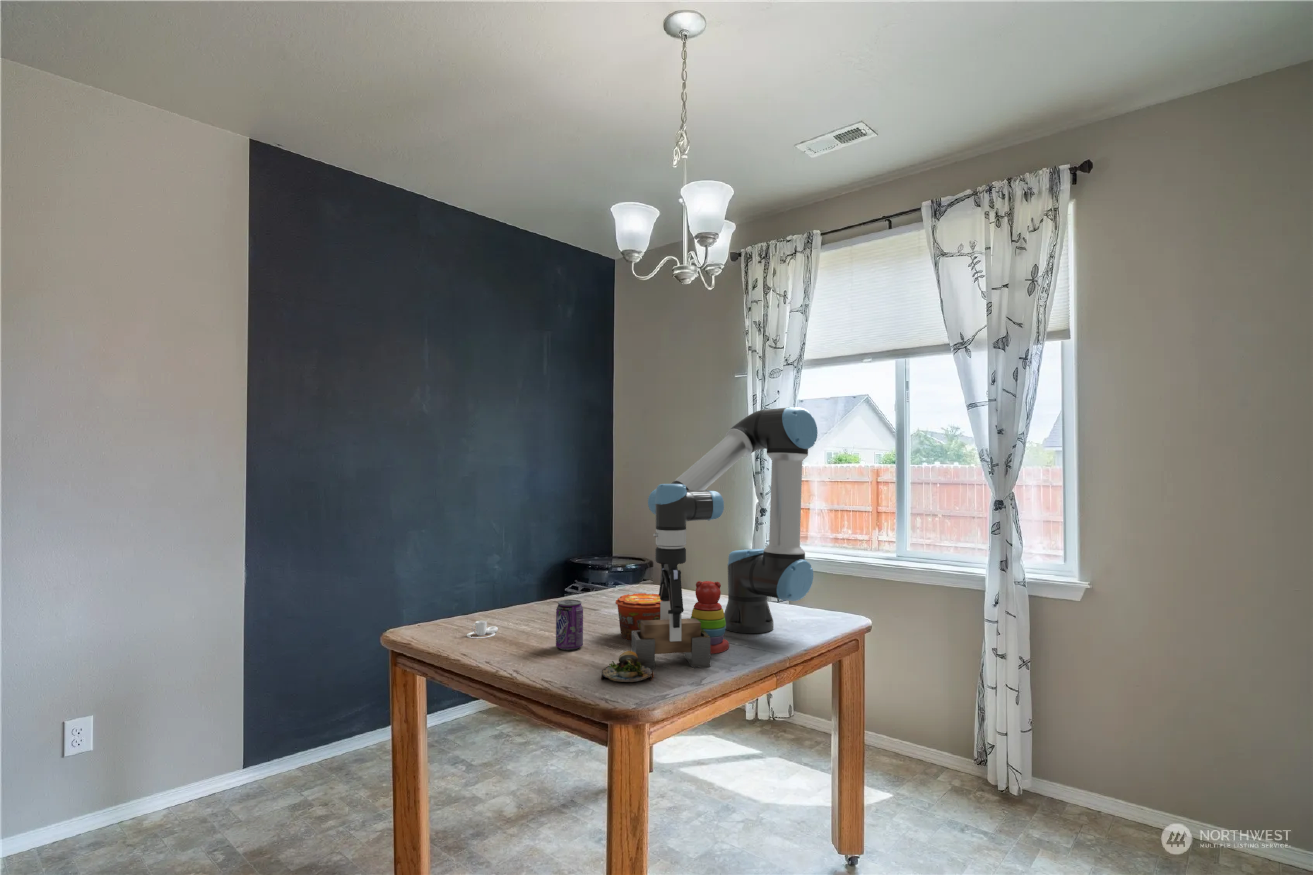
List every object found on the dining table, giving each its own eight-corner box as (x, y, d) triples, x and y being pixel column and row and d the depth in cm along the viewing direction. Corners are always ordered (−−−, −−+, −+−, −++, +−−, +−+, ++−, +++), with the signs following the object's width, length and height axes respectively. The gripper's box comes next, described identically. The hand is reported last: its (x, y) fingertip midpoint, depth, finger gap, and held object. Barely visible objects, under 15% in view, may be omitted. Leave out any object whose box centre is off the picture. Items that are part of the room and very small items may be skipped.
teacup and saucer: (496, 631, 200) (497, 617, 200) (499, 638, 193) (499, 623, 193) (465, 633, 198) (465, 619, 198) (467, 640, 190) (467, 625, 190)
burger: (591, 682, 154) (592, 649, 154) (615, 668, 165) (616, 637, 165) (640, 690, 149) (640, 655, 150) (662, 675, 160) (662, 642, 160)
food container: (623, 646, 184) (624, 605, 184) (609, 631, 199) (609, 594, 199) (680, 641, 189) (680, 601, 189) (661, 627, 204) (661, 591, 204)
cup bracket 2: (702, 656, 175) (702, 628, 175) (710, 666, 166) (710, 637, 166) (684, 656, 174) (684, 628, 174) (692, 667, 165) (692, 638, 165)
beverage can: (552, 645, 184) (553, 600, 184) (578, 643, 187) (578, 598, 187) (559, 652, 177) (560, 605, 178) (586, 649, 180) (586, 603, 180)
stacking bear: (729, 644, 186) (729, 578, 186) (727, 655, 176) (727, 585, 176) (689, 642, 187) (690, 576, 188) (685, 653, 177) (685, 583, 178)
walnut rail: (695, 646, 173) (695, 618, 173) (700, 651, 168) (700, 622, 168) (640, 649, 170) (640, 620, 170) (644, 654, 165) (644, 625, 165)
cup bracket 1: (636, 669, 163) (636, 639, 163) (631, 658, 172) (631, 630, 172) (654, 669, 164) (654, 639, 164) (649, 658, 173) (649, 630, 173)
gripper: (648, 540, 181) (648, 622, 181) (664, 553, 157) (663, 647, 156) (676, 540, 183) (676, 621, 182) (696, 553, 158) (696, 646, 157)
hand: (670, 633), depth 169 cm, fingers open, 13 cm apart
